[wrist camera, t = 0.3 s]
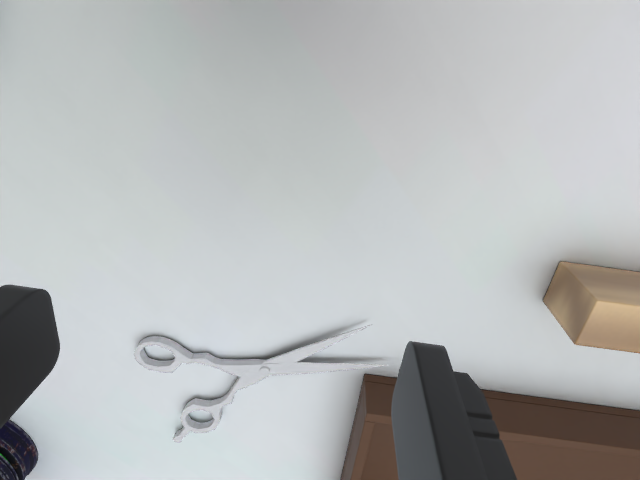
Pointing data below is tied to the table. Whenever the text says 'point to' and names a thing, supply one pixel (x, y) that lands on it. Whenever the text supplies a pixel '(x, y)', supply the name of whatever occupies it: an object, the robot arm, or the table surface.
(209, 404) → the scissors
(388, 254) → the table surface
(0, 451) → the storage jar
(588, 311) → the tan and orange bar
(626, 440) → the tray
